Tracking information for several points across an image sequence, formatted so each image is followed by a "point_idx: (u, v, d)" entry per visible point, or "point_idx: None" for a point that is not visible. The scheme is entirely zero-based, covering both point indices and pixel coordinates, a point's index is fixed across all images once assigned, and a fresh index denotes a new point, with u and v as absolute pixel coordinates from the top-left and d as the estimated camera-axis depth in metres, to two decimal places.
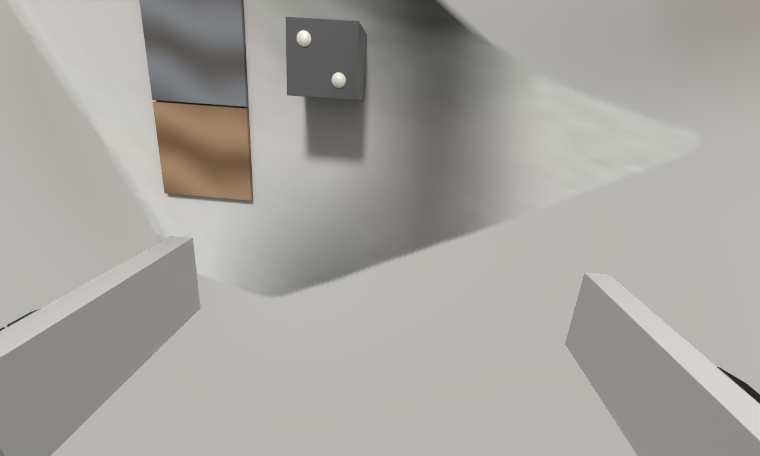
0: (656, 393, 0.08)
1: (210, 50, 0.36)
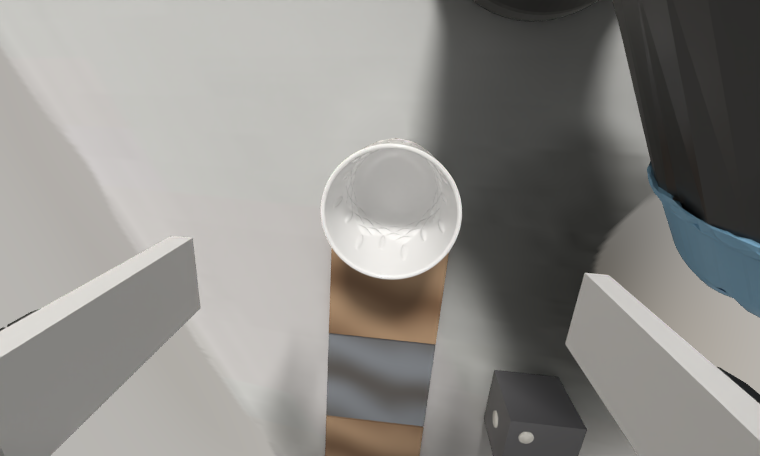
0: (656, 393, 0.08)
1: (394, 383, 0.36)
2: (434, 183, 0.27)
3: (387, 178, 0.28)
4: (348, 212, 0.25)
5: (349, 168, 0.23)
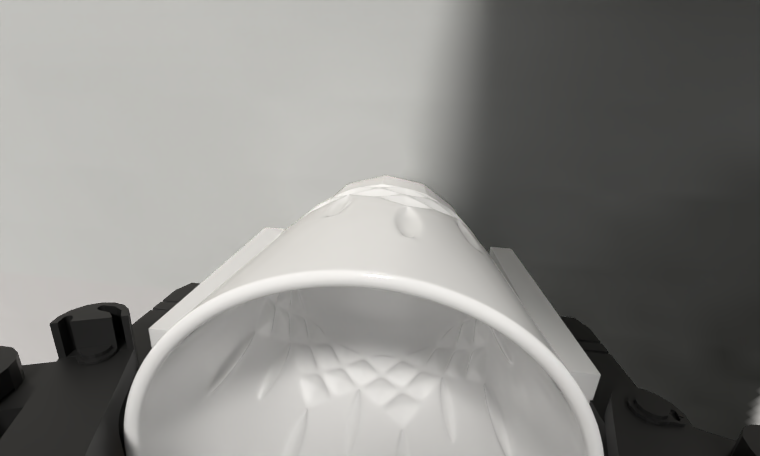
0: None
1: None
2: None
3: None
4: (275, 356, 0.11)
5: None
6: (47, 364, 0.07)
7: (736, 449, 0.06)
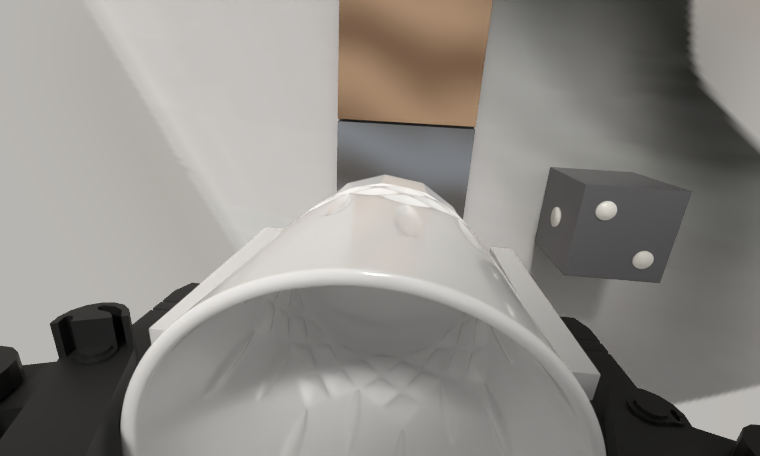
0: None
1: None
2: None
3: None
4: (274, 356, 0.11)
5: None
6: (47, 364, 0.07)
7: (736, 449, 0.06)
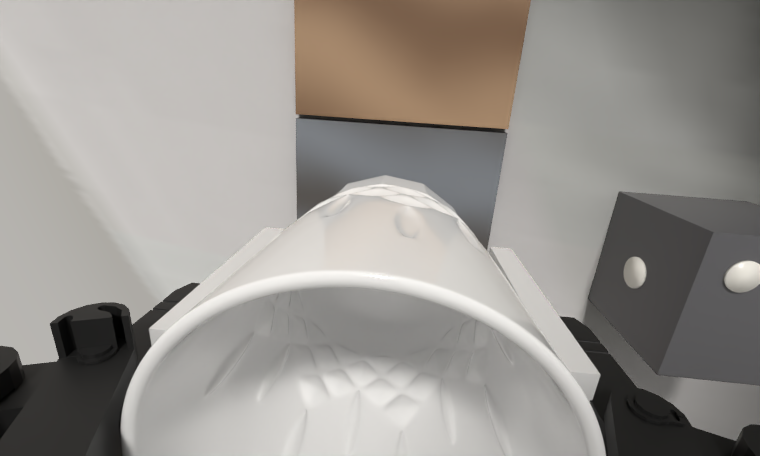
0: None
1: None
2: None
3: None
4: (274, 356, 0.11)
5: None
6: (47, 364, 0.07)
7: (736, 449, 0.06)
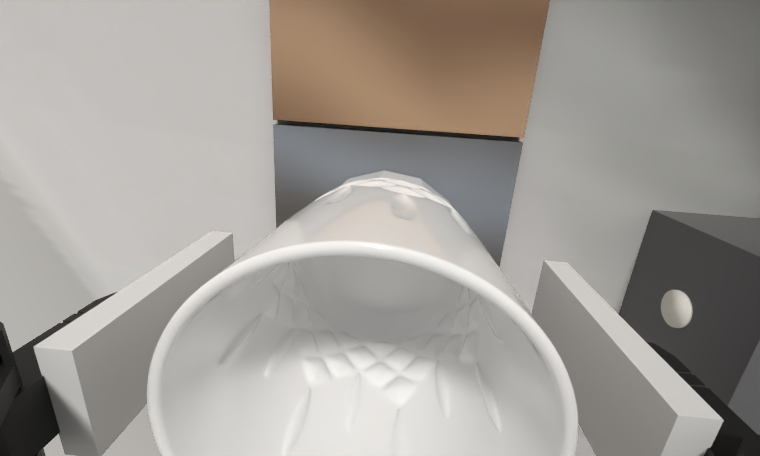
0: (593, 365, 0.09)
1: None
2: None
3: None
4: (280, 338, 0.12)
5: None
6: None
7: None
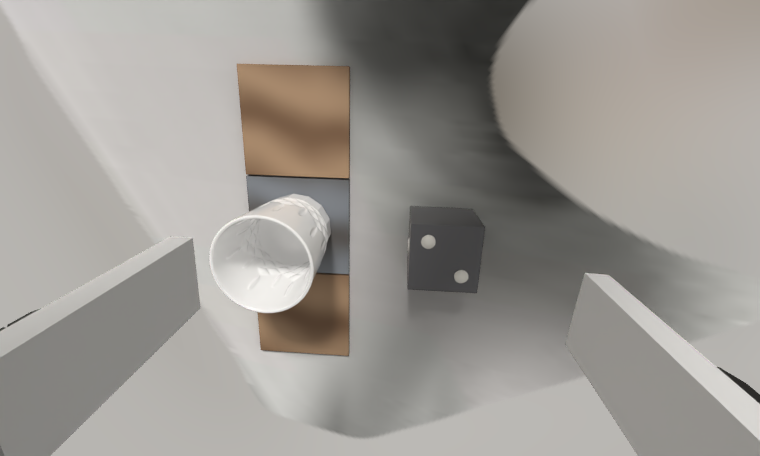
0: (656, 393, 0.08)
1: None
2: None
3: None
4: (248, 258, 0.32)
5: (241, 226, 0.30)
6: None
7: None
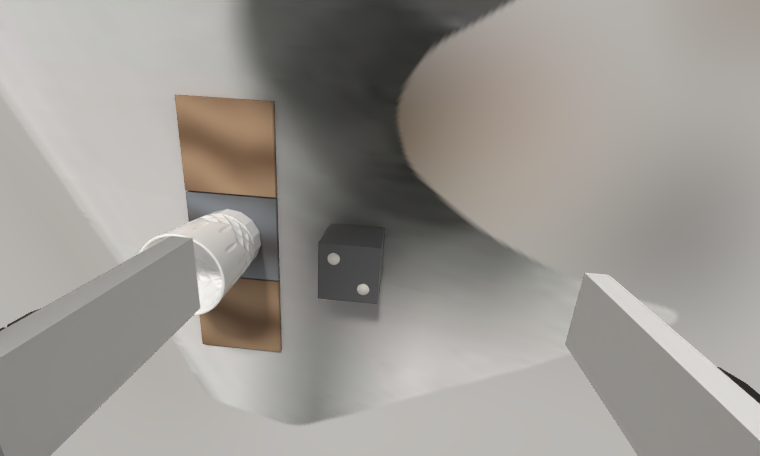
0: (656, 393, 0.08)
1: None
2: None
3: None
4: None
5: None
6: None
7: None
